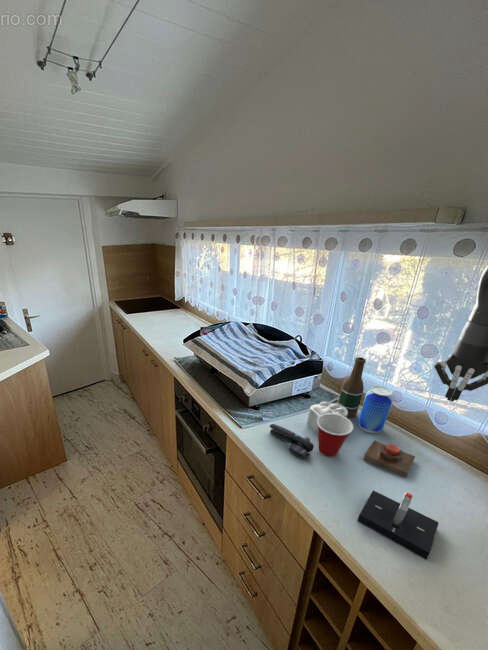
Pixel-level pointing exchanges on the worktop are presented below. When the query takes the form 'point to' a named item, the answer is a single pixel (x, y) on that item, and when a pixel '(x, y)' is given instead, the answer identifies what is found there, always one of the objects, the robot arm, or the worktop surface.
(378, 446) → the button block
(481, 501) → the worktop surface
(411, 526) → the lever switch
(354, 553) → the worktop surface
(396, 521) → the tap handle
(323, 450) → the plastic cup
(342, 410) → the white bumpy block
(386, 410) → the beer can
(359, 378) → the beer bottle
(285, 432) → the can opener
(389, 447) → the button
